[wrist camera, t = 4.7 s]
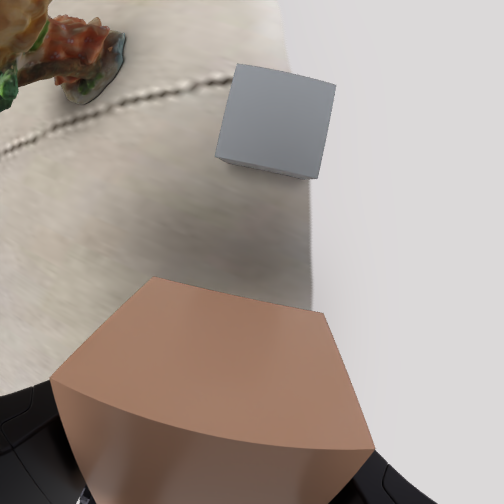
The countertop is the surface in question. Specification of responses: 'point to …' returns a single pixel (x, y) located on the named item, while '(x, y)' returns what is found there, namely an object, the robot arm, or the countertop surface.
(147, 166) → the countertop surface
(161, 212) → the countertop surface
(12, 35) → the figurine
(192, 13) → the countertop surface
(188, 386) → the terracotta cube
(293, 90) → the slate cube
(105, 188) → the countertop surface
